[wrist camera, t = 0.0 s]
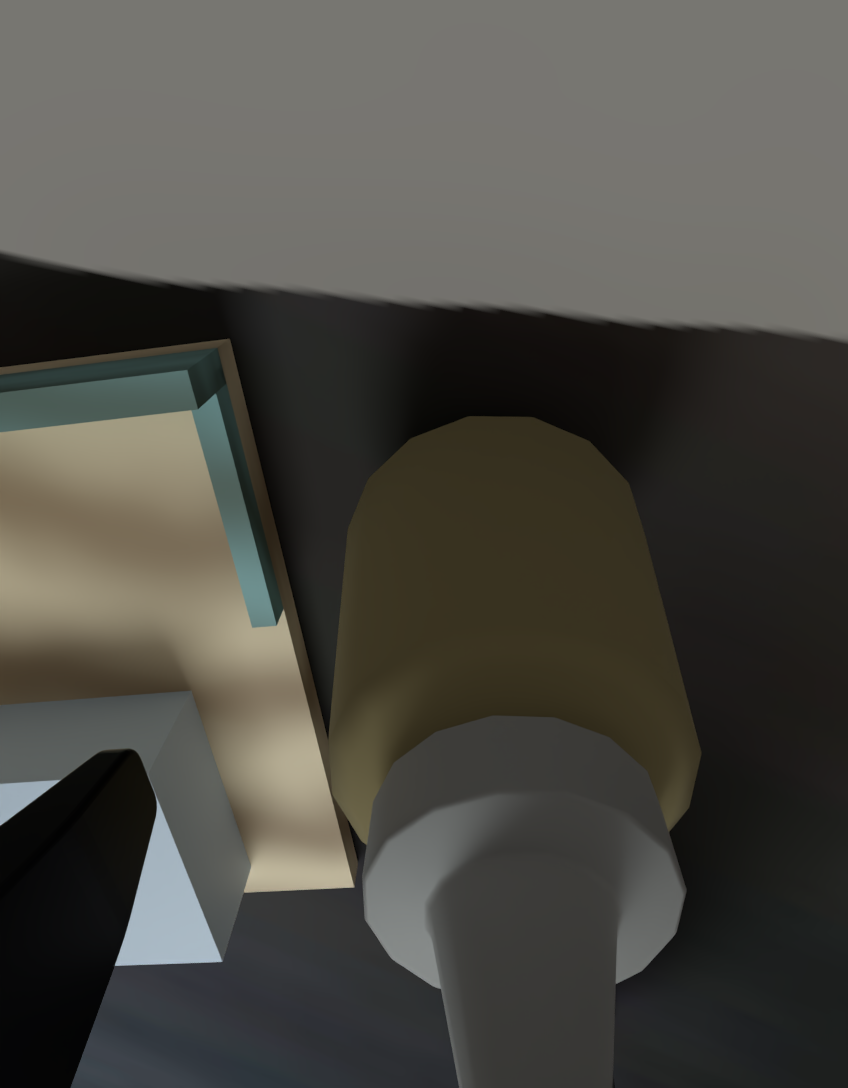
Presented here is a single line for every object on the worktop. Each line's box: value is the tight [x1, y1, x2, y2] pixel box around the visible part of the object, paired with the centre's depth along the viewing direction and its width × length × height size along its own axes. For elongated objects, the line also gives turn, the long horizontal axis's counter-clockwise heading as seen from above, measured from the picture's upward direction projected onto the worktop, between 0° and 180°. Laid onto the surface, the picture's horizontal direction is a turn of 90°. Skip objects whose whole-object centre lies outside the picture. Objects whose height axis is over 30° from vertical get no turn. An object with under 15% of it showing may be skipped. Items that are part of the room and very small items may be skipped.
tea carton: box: [0, 691, 251, 966], centre depth 27 cm, size 9×12×4 cm
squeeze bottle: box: [328, 416, 701, 1088], centre depth 15 cm, size 8×8×18 cm
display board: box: [0, 339, 358, 892], centre depth 26 cm, size 22×20×4 cm
